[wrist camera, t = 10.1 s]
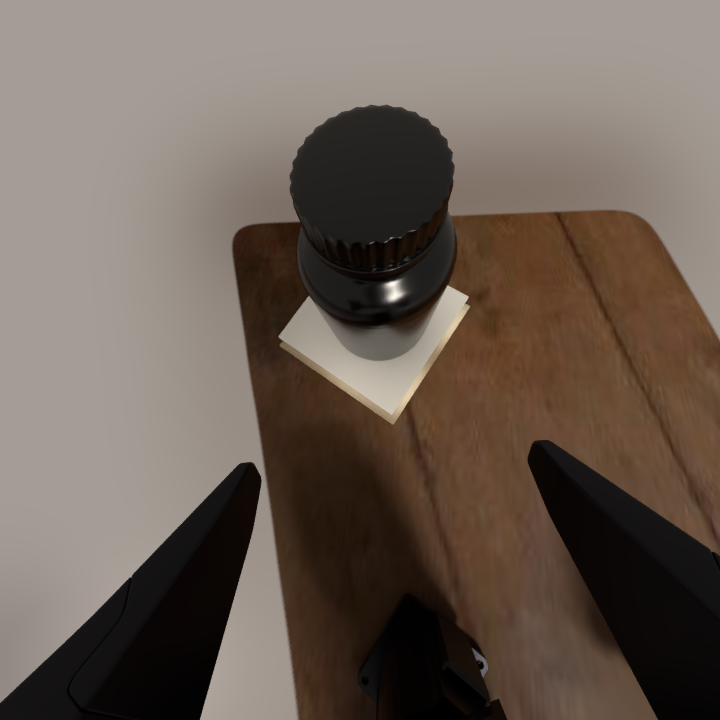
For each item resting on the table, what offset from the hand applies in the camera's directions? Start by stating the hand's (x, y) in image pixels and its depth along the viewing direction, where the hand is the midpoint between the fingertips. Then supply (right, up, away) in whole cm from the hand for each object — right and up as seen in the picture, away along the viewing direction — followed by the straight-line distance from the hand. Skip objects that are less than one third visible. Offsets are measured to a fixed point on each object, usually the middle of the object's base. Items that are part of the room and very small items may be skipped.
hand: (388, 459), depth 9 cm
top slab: (0, +6, +13) cm, 14 cm away
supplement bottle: (0, +6, +11) cm, 12 cm away
